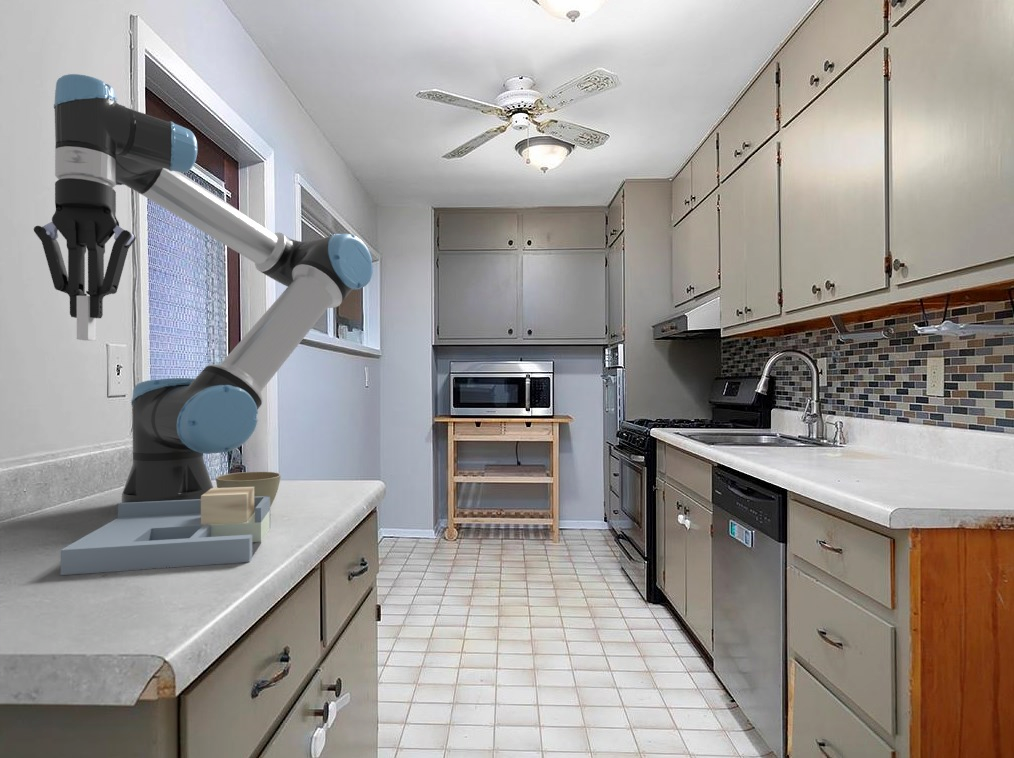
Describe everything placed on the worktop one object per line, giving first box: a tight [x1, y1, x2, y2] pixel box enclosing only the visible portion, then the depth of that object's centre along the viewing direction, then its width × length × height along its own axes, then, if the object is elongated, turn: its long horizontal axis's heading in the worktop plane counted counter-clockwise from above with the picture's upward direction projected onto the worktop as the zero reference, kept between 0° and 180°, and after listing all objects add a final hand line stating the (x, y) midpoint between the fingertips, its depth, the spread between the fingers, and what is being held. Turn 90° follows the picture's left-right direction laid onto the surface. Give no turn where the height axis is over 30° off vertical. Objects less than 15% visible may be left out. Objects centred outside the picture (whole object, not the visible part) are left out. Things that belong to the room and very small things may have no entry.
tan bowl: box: [215, 471, 282, 508], centre depth 100 cm, size 10×10×7 cm
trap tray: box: [60, 496, 271, 576], centre depth 82 cm, size 18×21×5 cm
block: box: [201, 487, 254, 524], centre depth 87 cm, size 6×6×4 cm
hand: (86, 339), depth 90 cm, fingers closed
